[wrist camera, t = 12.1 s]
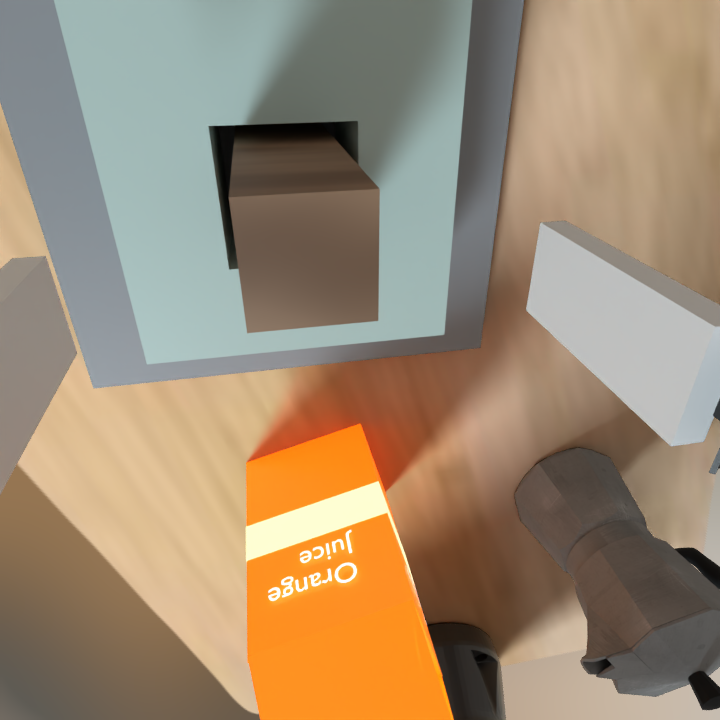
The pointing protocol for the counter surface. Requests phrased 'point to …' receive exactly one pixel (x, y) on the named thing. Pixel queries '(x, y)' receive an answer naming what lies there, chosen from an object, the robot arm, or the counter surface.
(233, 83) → the socket block
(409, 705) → the orange juice
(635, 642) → the coffeepot
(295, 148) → the peg
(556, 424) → the counter surface
